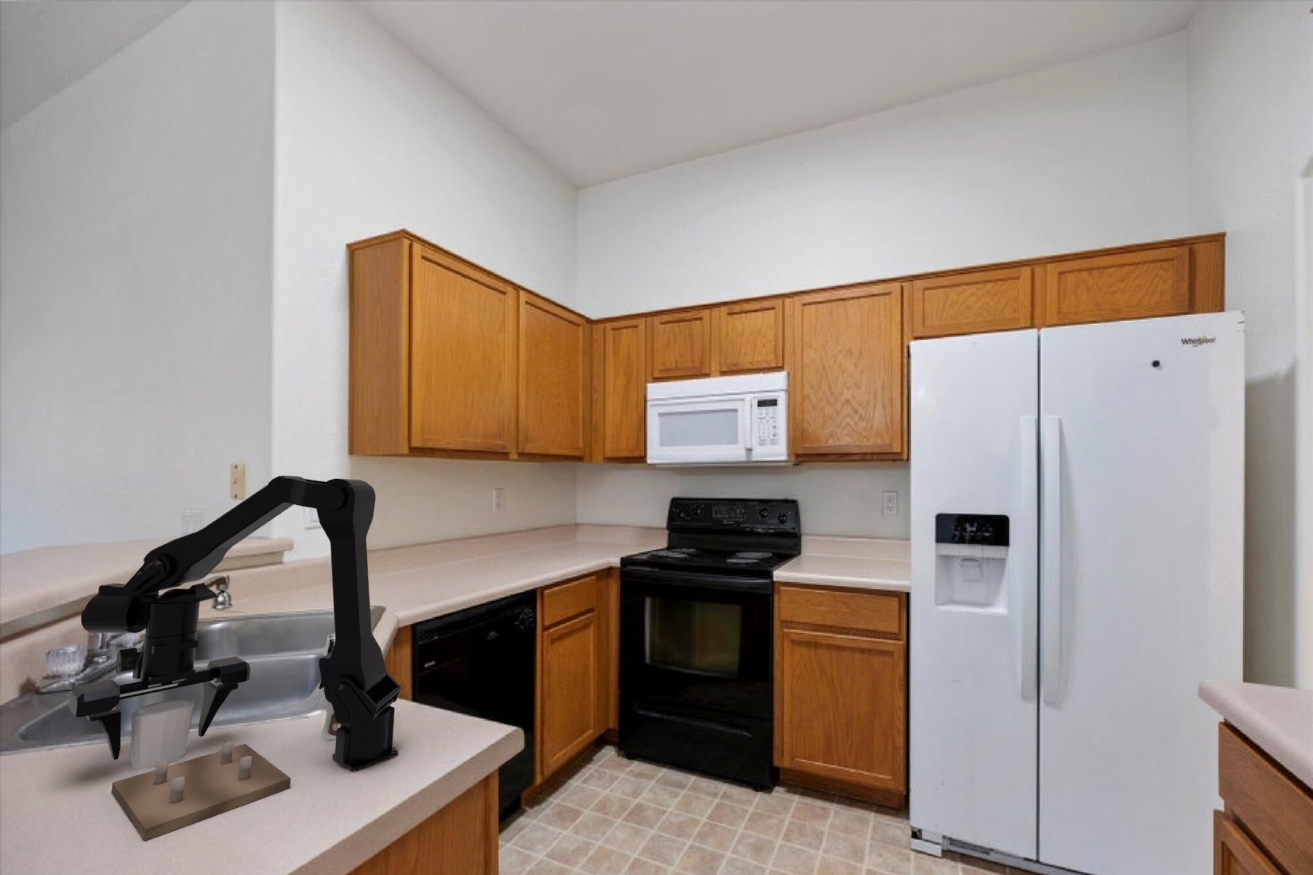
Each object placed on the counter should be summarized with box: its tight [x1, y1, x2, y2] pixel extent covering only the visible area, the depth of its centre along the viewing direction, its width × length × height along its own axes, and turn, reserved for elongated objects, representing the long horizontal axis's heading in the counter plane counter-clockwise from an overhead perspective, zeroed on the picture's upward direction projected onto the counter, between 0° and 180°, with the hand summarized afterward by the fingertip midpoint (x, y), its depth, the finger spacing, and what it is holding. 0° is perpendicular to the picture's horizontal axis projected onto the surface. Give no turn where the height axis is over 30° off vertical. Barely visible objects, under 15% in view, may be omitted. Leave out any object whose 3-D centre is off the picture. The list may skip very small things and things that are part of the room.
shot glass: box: [130, 698, 196, 769], centre depth 79 cm, size 7×7×7 cm
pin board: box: [111, 741, 292, 842], centre depth 71 cm, size 14×16×4 cm
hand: (160, 746), depth 79 cm, fingers open, 9 cm apart
